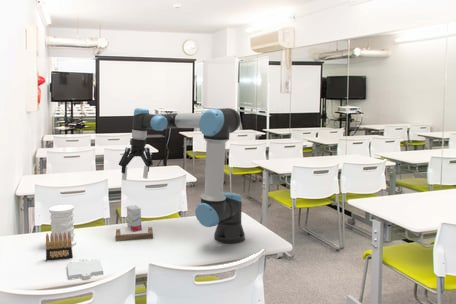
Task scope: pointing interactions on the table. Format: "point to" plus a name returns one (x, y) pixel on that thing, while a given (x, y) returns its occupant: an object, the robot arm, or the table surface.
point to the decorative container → (62, 221)
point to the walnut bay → (134, 235)
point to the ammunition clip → (58, 247)
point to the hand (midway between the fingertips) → (134, 178)
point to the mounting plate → (84, 268)
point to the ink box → (134, 218)
